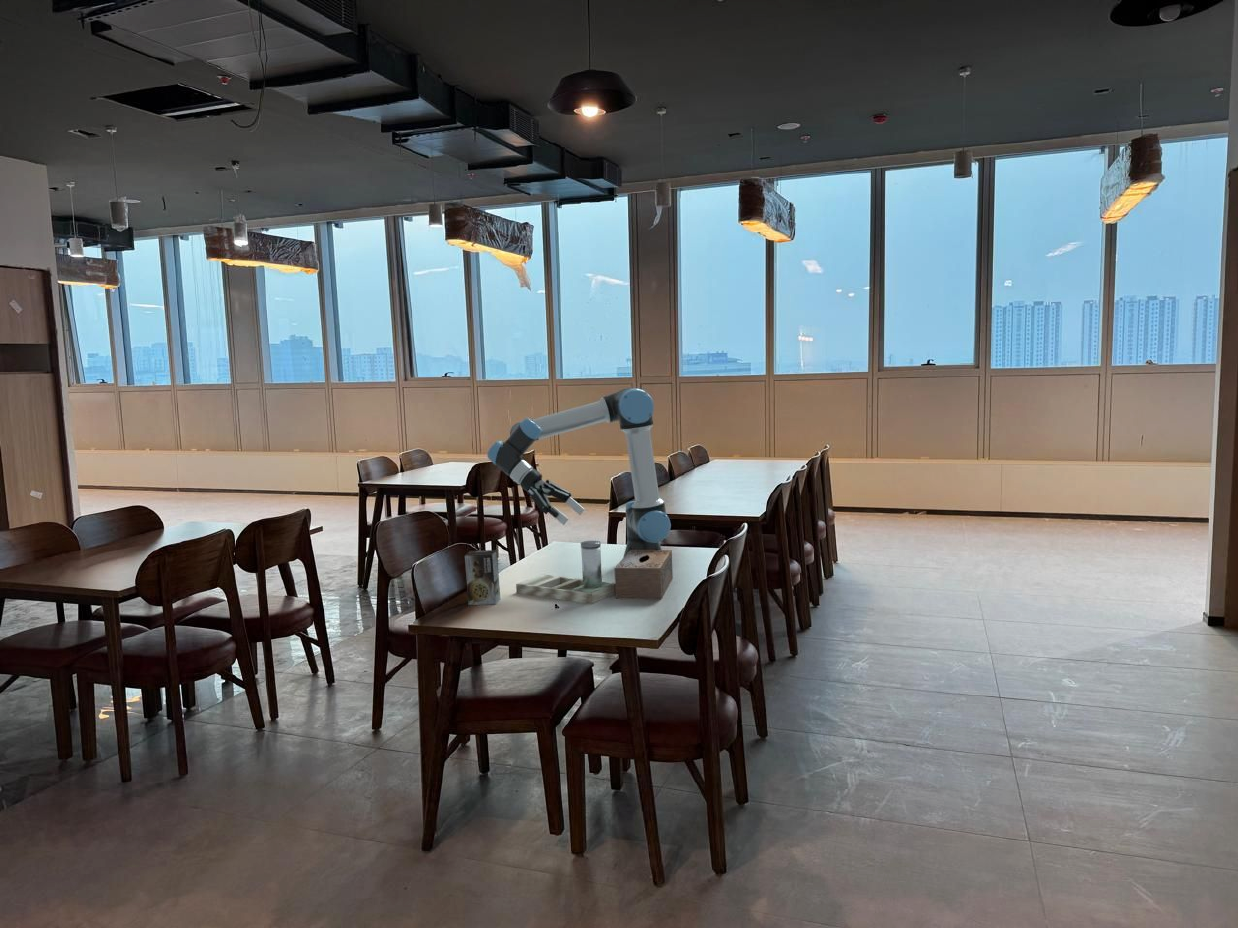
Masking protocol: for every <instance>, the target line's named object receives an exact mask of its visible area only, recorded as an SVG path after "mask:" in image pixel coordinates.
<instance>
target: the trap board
mask: <svg viewBox="0 0 1238 928" xmlns="http://www.w3.org/2000/svg"><path fill="white" fill-rule="evenodd" d="M515 588H516V589H515V590H516V594H522V595H527V596H536V597H542V598H548V597H549V598H548V599H554V598H555V599H557V600H561V599H562V600H561V601H569V602H574V603H575V602H576V603H583V604H590V605H591V604H594V603H597V602H598V601H600V600H603V599H605V598H607V596H608V597H610V596H612V595H614V593H615V594H616V588H615V582H614V583H613V582H606V581H605V582H604V581H602V587H600V588H595V589H587V588H584V587H583V578H576V577H575V578H574V577H568V576H558V575H552V574H551V575H550V574H540V575H538V576H534V577H532V578H529V579H526V580H523V581H521V582H518V583H515Z"/></svg>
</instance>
